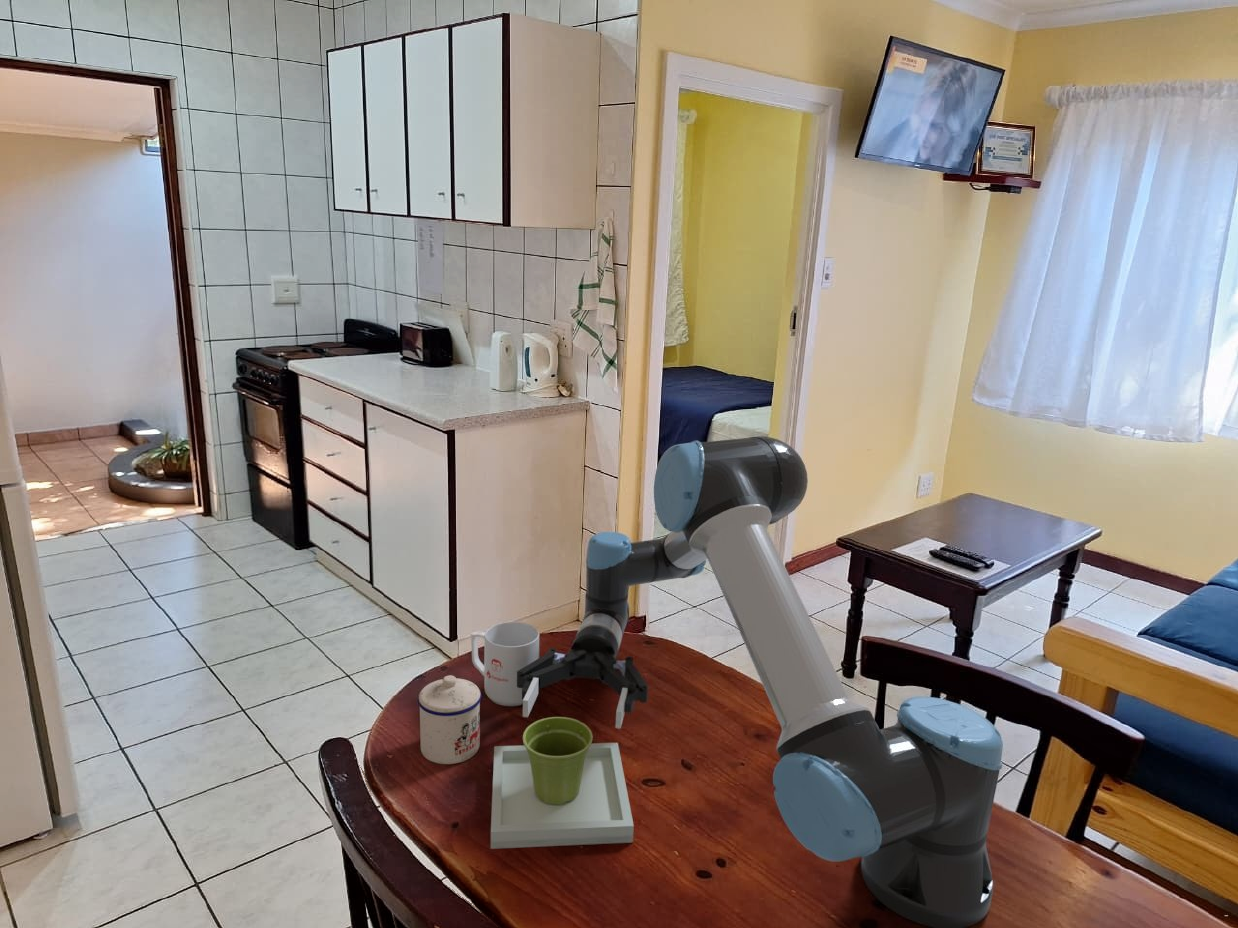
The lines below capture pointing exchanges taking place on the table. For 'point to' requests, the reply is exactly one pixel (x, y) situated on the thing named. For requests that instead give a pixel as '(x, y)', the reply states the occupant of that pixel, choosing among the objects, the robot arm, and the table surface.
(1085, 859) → the table surface
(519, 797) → the tray
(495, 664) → the mug
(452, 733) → the teacup with lid
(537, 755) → the plant pot
